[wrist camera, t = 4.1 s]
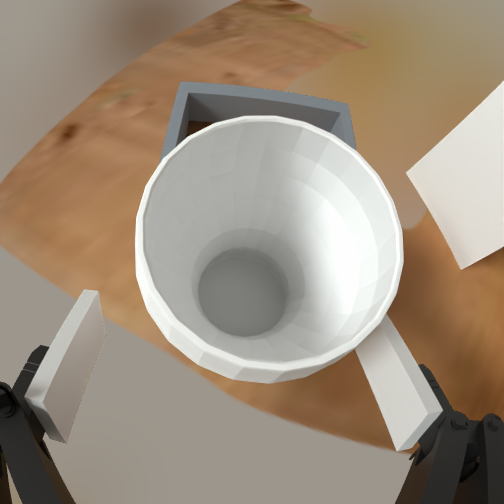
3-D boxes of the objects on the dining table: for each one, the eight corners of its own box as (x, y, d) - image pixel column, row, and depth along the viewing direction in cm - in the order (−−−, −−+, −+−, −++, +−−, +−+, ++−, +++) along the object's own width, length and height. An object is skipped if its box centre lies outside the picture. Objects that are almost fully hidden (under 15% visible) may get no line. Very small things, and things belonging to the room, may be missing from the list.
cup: (144, 321, 23) (59, 271, 9) (216, 212, 27) (229, 72, 13) (265, 393, 23) (344, 442, 8) (327, 277, 26) (440, 192, 12)
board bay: (335, 128, 32) (348, 103, 28) (344, 217, 28) (362, 197, 24) (181, 109, 30) (180, 81, 26) (162, 199, 26) (156, 174, 23)
